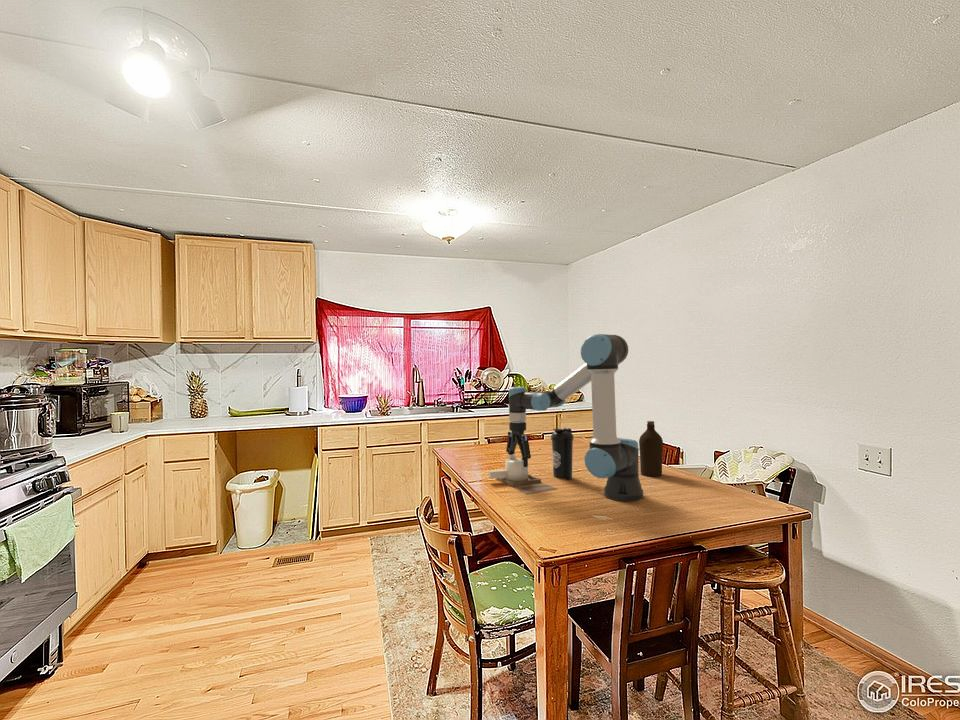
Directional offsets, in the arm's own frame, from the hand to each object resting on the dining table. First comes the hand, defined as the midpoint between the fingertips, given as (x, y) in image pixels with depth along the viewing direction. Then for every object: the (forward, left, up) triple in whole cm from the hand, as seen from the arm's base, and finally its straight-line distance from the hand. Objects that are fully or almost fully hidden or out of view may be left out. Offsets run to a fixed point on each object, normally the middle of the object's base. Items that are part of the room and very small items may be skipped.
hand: (518, 471), depth 212 cm
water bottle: (-3, -22, -5) cm, 23 cm away
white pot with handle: (+1, +4, -4) cm, 6 cm away
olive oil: (-18, -62, -5) cm, 65 cm away
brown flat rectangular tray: (-6, 0, -5) cm, 8 cm away
